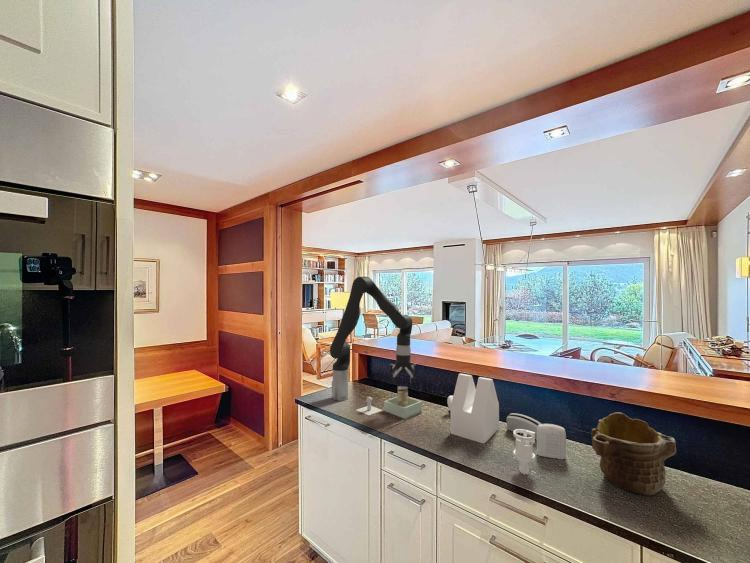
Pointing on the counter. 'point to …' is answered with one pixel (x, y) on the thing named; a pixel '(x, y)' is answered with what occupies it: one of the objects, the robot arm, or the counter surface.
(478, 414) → the white notched block
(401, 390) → the strut
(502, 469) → the counter surface
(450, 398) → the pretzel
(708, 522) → the counter surface
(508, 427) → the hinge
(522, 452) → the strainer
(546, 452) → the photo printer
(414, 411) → the bin
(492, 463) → the counter surface
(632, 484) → the ceramic vessel
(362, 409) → the stud base
